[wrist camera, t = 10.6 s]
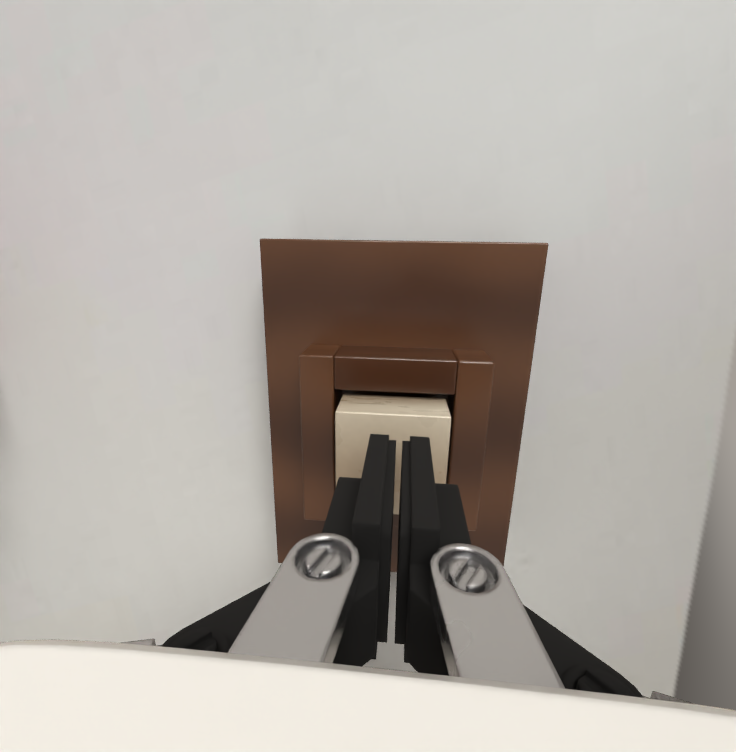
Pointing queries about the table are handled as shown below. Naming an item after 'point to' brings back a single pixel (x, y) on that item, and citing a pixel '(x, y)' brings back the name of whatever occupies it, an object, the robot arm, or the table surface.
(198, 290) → the table surface
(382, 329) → the brown rocker switch
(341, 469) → the key
